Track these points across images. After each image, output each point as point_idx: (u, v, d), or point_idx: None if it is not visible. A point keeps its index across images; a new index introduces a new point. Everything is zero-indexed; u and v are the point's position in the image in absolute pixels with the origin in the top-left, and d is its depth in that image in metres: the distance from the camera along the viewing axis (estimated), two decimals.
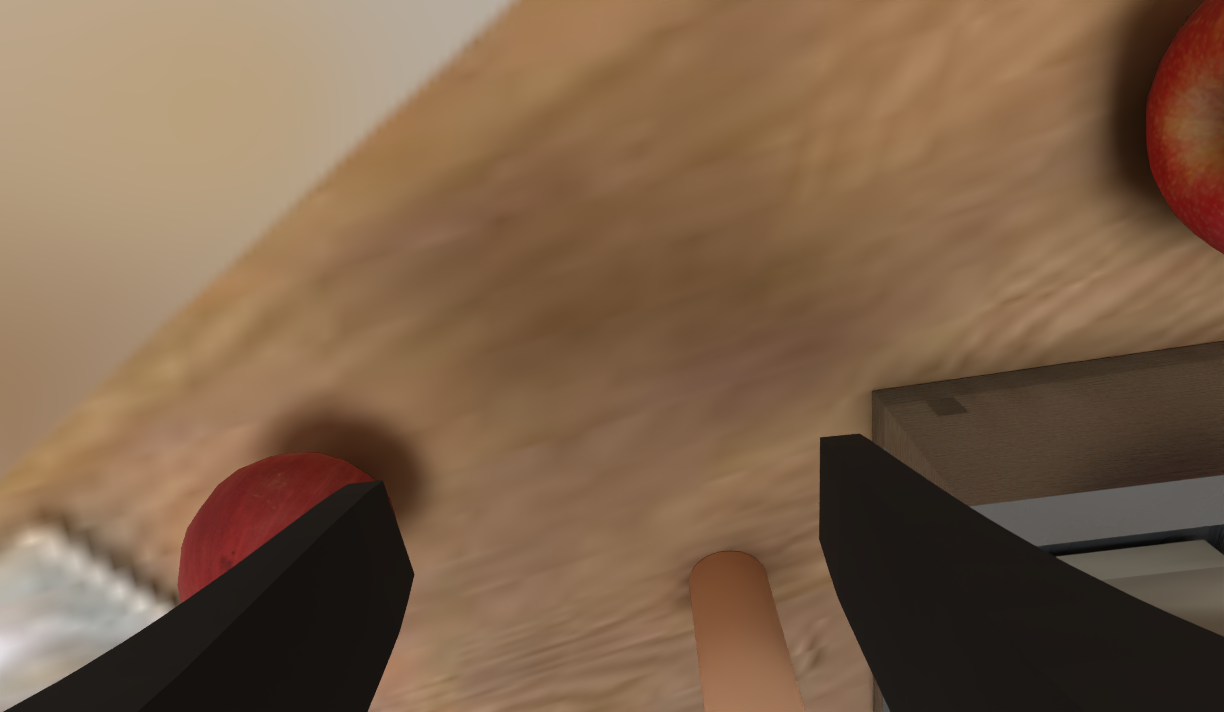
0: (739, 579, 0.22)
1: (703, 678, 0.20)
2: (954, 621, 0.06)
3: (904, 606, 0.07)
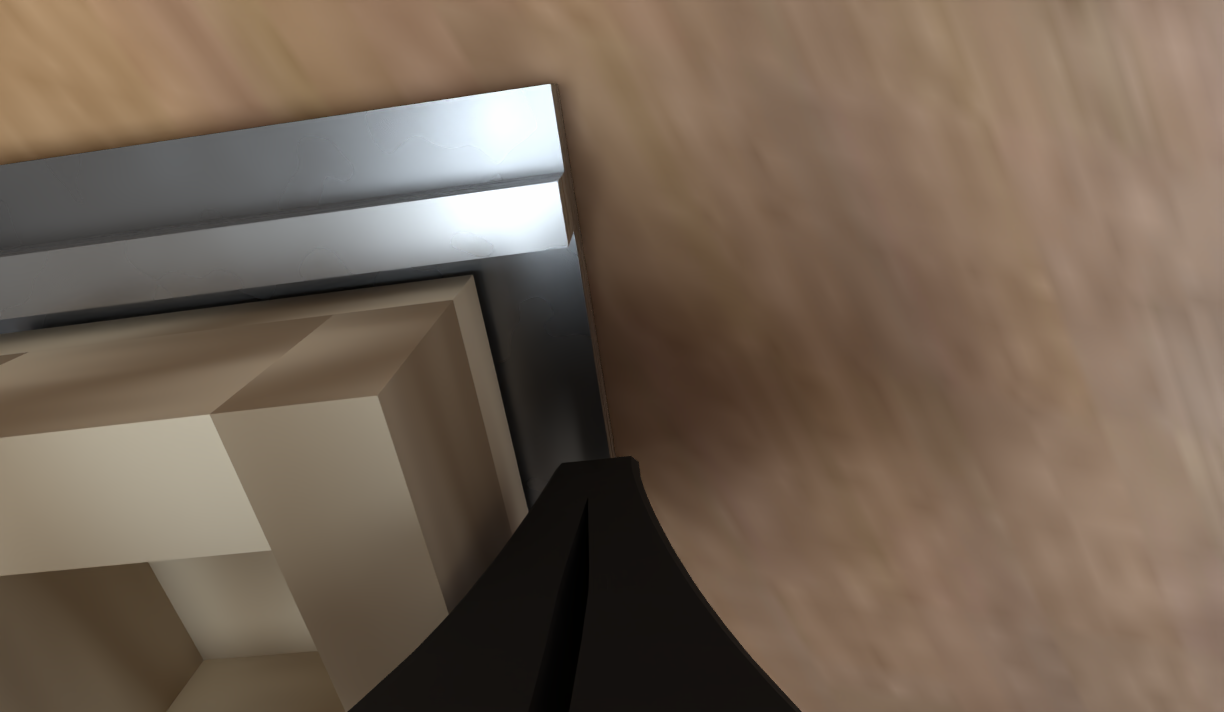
0: None
1: None
2: None
3: None
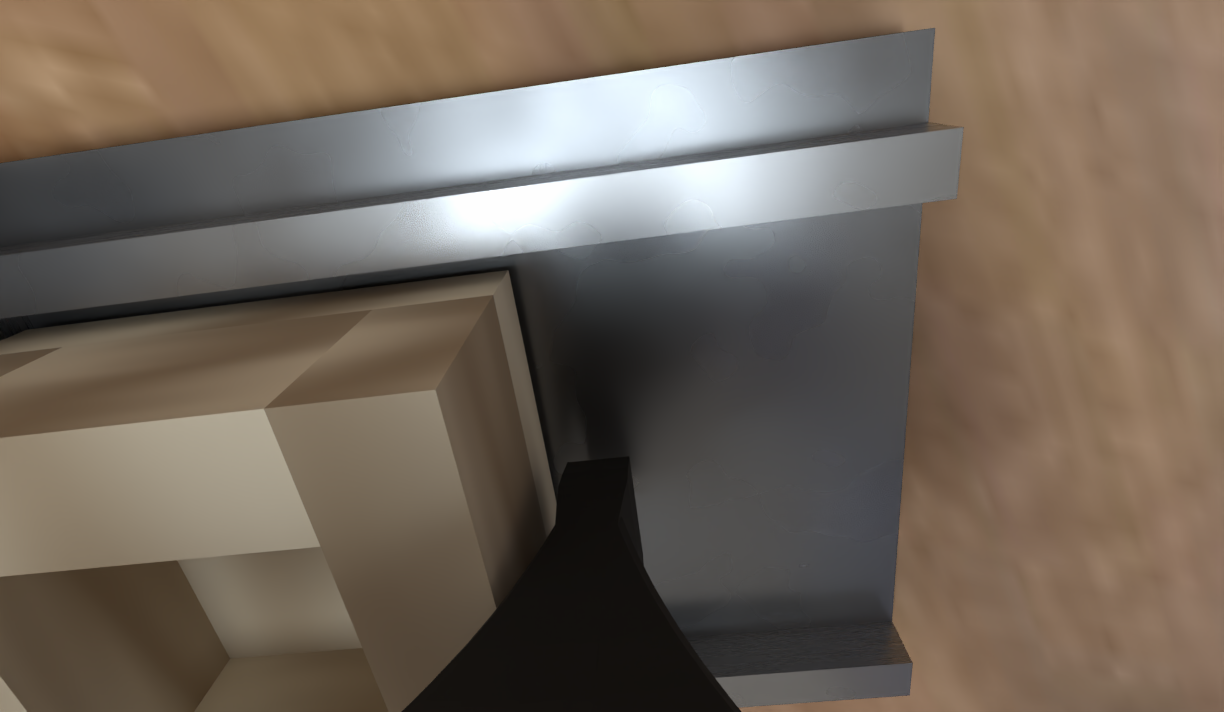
0: None
1: None
2: None
3: None
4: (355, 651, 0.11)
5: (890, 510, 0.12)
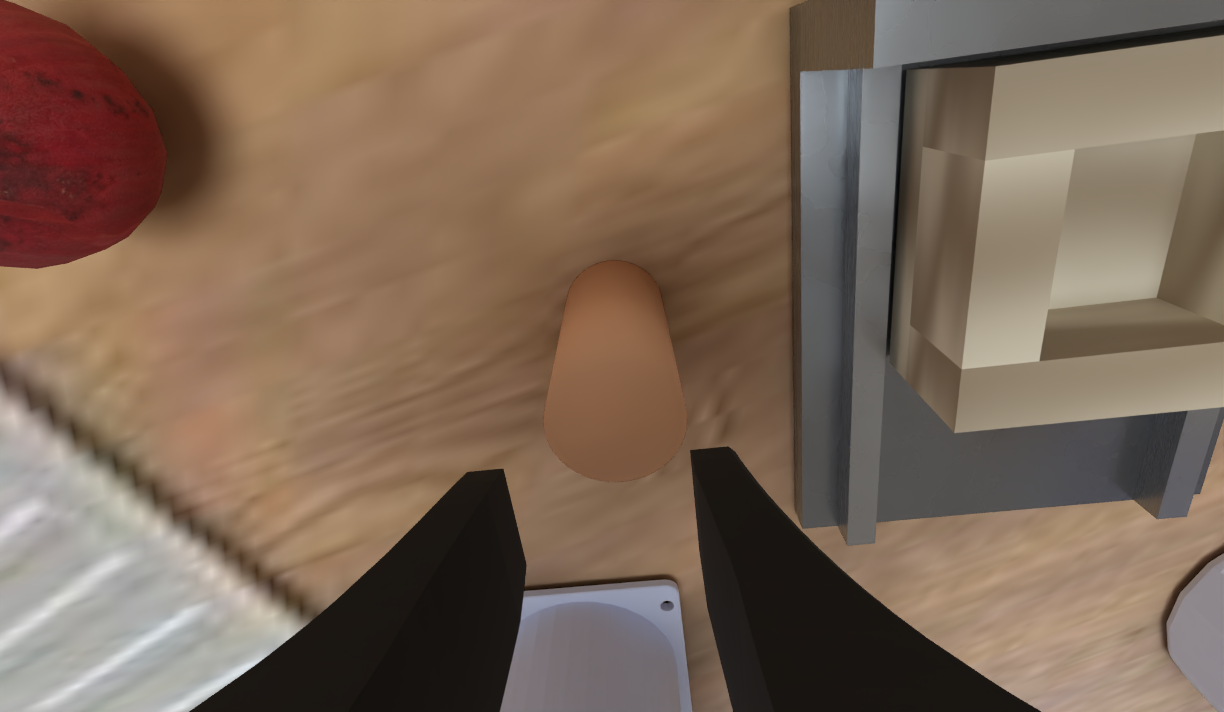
0: (618, 275, 0.17)
1: None
2: (745, 637, 0.06)
3: (730, 620, 0.07)
4: None
5: (950, 511, 0.21)
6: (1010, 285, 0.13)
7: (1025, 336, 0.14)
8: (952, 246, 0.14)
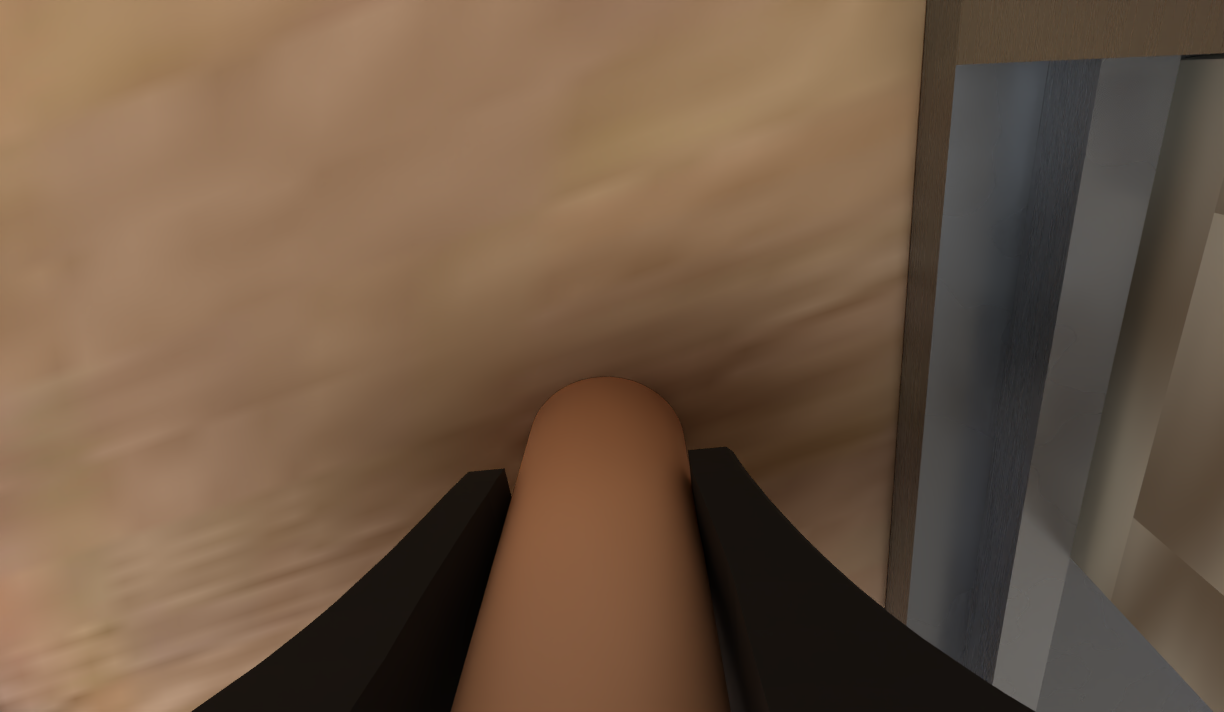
0: (607, 414, 0.10)
1: None
2: (742, 637, 0.06)
3: (727, 620, 0.07)
4: None
5: None
6: None
7: None
8: None
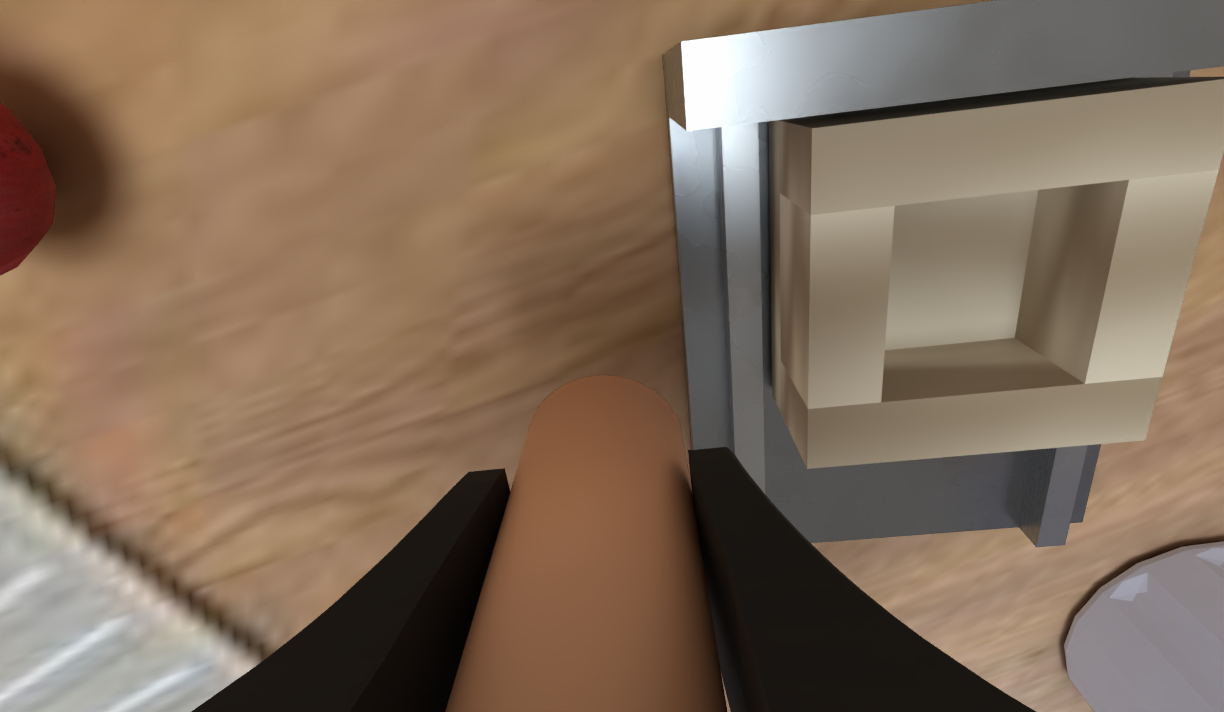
0: (605, 412, 0.10)
1: None
2: (742, 637, 0.06)
3: (727, 620, 0.07)
4: None
5: (842, 536, 0.21)
6: (846, 330, 0.14)
7: (865, 379, 0.14)
8: (798, 291, 0.14)
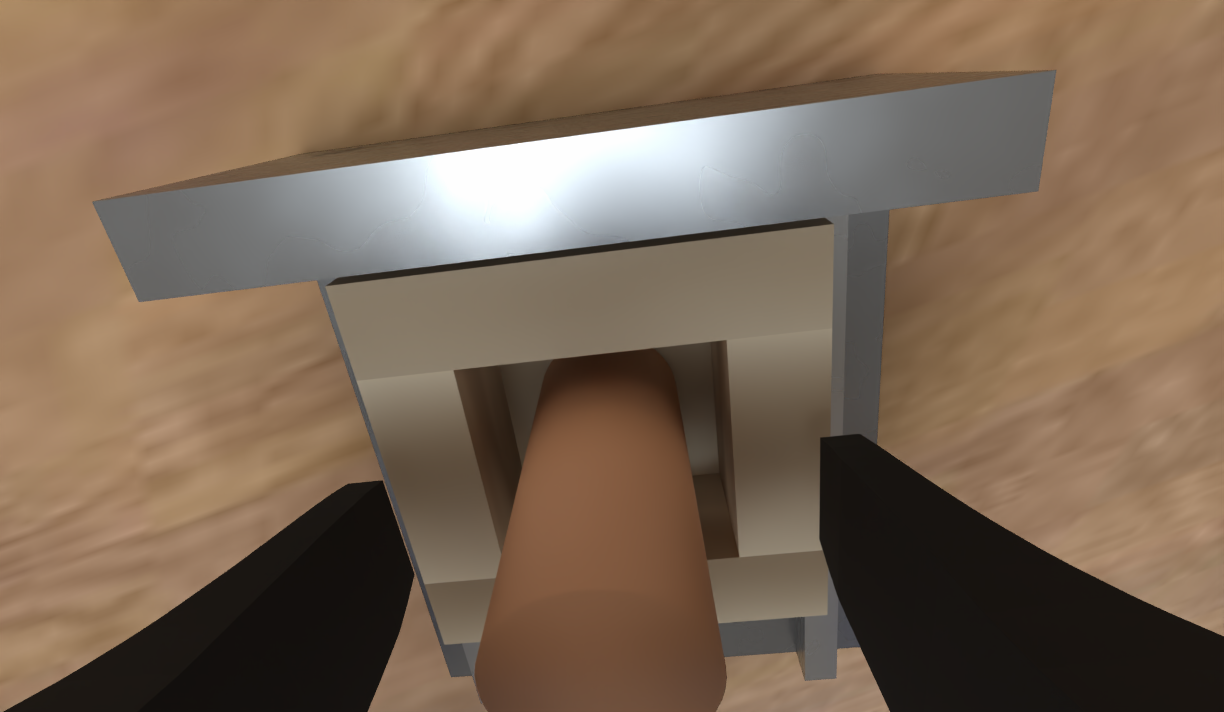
0: (610, 364, 0.12)
1: None
2: (954, 621, 0.06)
3: (904, 606, 0.07)
4: (509, 414, 0.14)
5: None
6: (441, 503, 0.12)
7: (480, 553, 0.12)
8: None
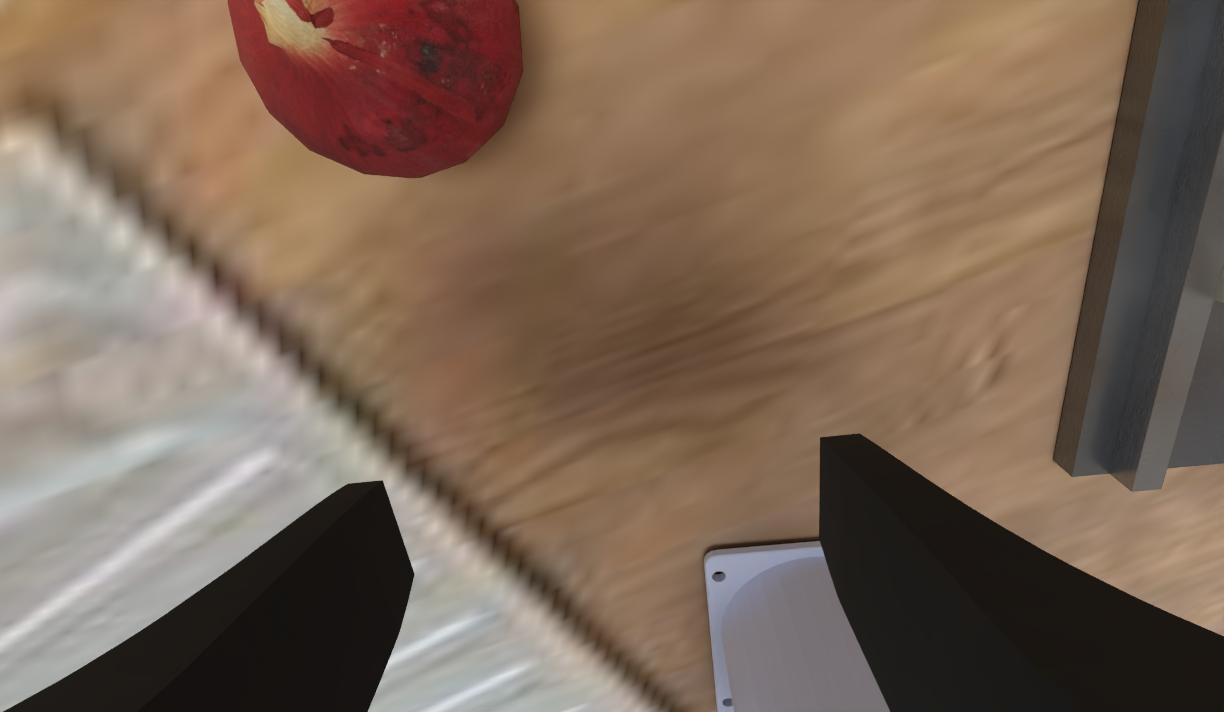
0: None
1: None
2: (954, 621, 0.06)
3: (903, 606, 0.07)
4: None
5: None
6: None
7: None
8: None
